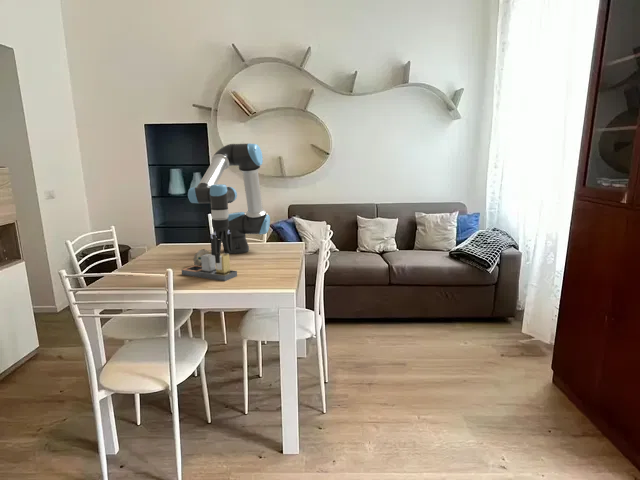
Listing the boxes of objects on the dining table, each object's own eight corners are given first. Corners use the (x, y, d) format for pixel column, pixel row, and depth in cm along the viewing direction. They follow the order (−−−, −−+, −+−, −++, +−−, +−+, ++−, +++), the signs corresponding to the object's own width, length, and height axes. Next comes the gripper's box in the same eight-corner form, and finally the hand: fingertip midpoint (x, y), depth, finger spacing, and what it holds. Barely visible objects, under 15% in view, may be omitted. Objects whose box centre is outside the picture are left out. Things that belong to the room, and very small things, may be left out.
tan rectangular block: (222, 273, 200) (221, 253, 198) (230, 275, 198) (229, 254, 196) (216, 276, 196) (215, 255, 194) (224, 277, 194) (223, 256, 192)
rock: (190, 265, 215) (195, 247, 214) (192, 264, 221) (198, 246, 221) (213, 272, 216) (218, 254, 216) (215, 271, 222) (220, 253, 222)
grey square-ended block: (208, 273, 204) (207, 253, 202) (216, 274, 202) (214, 254, 200) (202, 276, 200) (201, 255, 198) (209, 277, 198) (208, 256, 196)
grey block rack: (195, 270, 210) (194, 265, 210) (237, 276, 199) (236, 270, 199) (181, 274, 202) (181, 269, 202) (225, 281, 191) (224, 275, 191)
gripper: (225, 215, 201) (228, 262, 206) (200, 220, 186) (204, 271, 190) (238, 216, 198) (241, 264, 202) (213, 221, 182) (217, 273, 187)
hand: (223, 267), depth 196 cm, fingers closed on tan rectangular block, 4 cm apart
